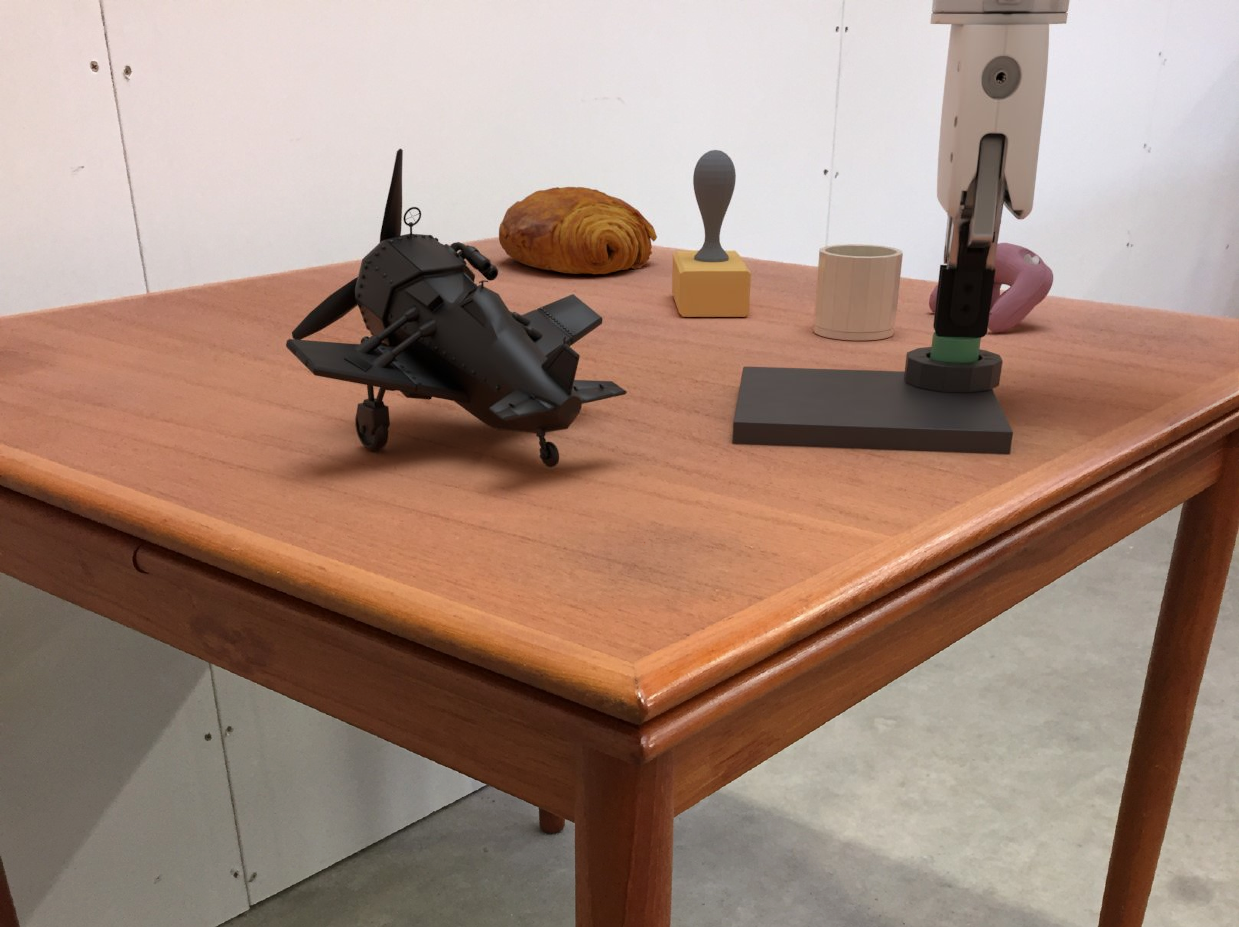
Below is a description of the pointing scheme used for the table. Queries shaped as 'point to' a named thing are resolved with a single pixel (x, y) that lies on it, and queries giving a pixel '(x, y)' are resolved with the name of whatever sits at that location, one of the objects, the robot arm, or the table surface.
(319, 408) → the table surface
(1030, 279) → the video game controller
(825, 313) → the cup
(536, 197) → the croissant
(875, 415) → the scale
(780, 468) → the table surface
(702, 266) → the rubber stamp
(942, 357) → the tare button
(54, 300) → the table surface
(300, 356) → the airplane toy
